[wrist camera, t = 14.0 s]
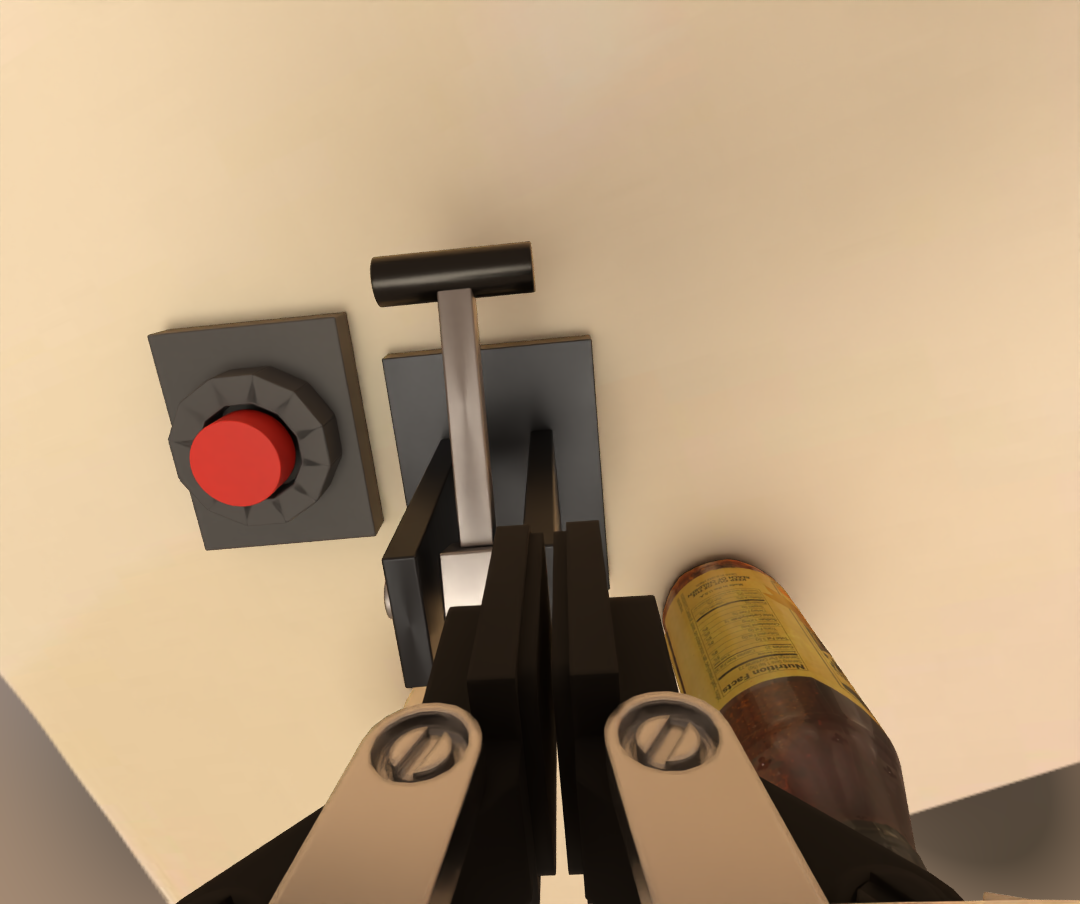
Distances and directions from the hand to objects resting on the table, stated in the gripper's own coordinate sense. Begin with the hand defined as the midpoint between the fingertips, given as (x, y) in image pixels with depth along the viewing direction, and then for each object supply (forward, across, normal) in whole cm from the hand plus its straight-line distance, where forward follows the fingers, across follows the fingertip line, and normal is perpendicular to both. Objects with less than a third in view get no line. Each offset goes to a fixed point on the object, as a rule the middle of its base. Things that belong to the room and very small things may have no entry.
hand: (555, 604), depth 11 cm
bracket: (+20, +3, +5) cm, 21 cm away
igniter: (+20, +13, +2) cm, 24 cm away
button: (+17, +13, +2) cm, 21 cm away
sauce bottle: (+21, -7, +13) cm, 25 cm away
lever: (+12, +3, +1) cm, 12 cm away
